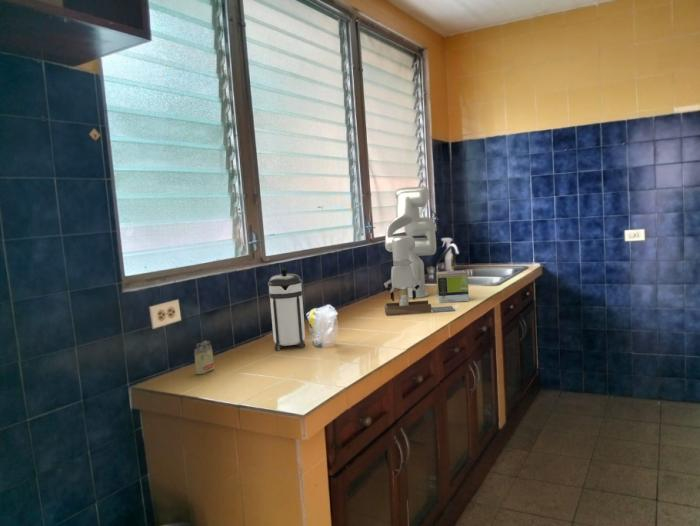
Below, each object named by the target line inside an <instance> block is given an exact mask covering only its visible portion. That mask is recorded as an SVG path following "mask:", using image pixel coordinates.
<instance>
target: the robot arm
mask: <svg viewBox="0 0 700 526" xmlns="http://www.w3.org/2000/svg"><path fill="white" fill-rule="evenodd" d="M395 190H396V191H395V192H394V194H395V199H396V210H395V218H393V220H392V221H391V222H390V223H389V224H388V225H387V228H386V230H385V237H384V246H385V250H386V251H388V252H389V253H392V262H393V263H392V264H393V266H391V270H390V271H391V272H390V279H388V280H387V281H386V282H384V283H383V286H384V287H385V289H386V290H387V291H388V292H389V293H390V300H391V301H392V302H395V293H394V290H395V289H398V288H402V287H405V288H408V289H407V290H408V299H412V300H413V301H415V300H416V299H419V298H426V297H428V296H429V293H428V292H426V285H425V284H426V282H425V264H424V261H423V260H422V259H421V258H420V257H421V256H433V255H435V254H436V252H437V237H436V228H435V227H436V226H435V222H434V219H433V218H432V217H426V216H425V217H421V215H420V208H424V207H426V206H427V203H428V202H429V200H430V190H429V188H428V187H427V186H414V187H413V186H410V187H401V188H398V189H395ZM402 228H404V232H405V235H394V234H395V233H396V232H397V231H398V230H400V229H402ZM420 236H421V237H420ZM422 236H424V237H422ZM390 284H391V288H390V287H389V286H388V285H390Z"/></svg>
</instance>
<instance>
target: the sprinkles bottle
mask: <svg viewBox="0 0 700 526" xmlns="http://www.w3.org/2000/svg"><path fill="white" fill-rule="evenodd" d="M397 289H398V302H399V306H406V305H408V302H409V298H408V288H405V287H402V288H397Z"/></svg>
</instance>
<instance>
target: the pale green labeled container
mask: <svg viewBox="0 0 700 526" xmlns="http://www.w3.org/2000/svg"><path fill="white" fill-rule="evenodd" d="M212 347H213V346H212V345H211V341H210V340H206V339H205V340H204V341H202V342H200V343H199V342H198V343H196V348H194V365H195V373H196V375H203V374H206V373H209V372H210V371H213V370H215V365H214V355H213V353H214V352H213V348H212Z"/></svg>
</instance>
